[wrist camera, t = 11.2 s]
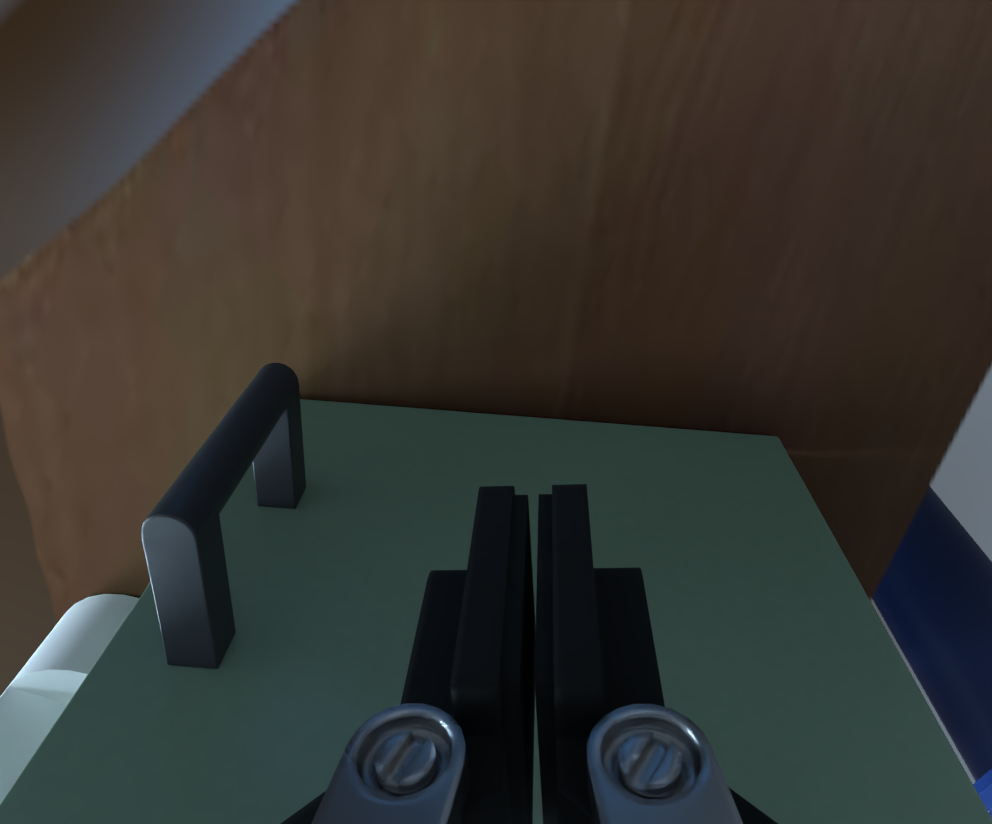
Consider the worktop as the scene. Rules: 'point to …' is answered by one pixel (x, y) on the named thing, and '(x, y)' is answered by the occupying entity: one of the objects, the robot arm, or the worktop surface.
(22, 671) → the base with upright slab
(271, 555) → the cupboard door
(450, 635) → the robot arm
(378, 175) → the worktop surface
